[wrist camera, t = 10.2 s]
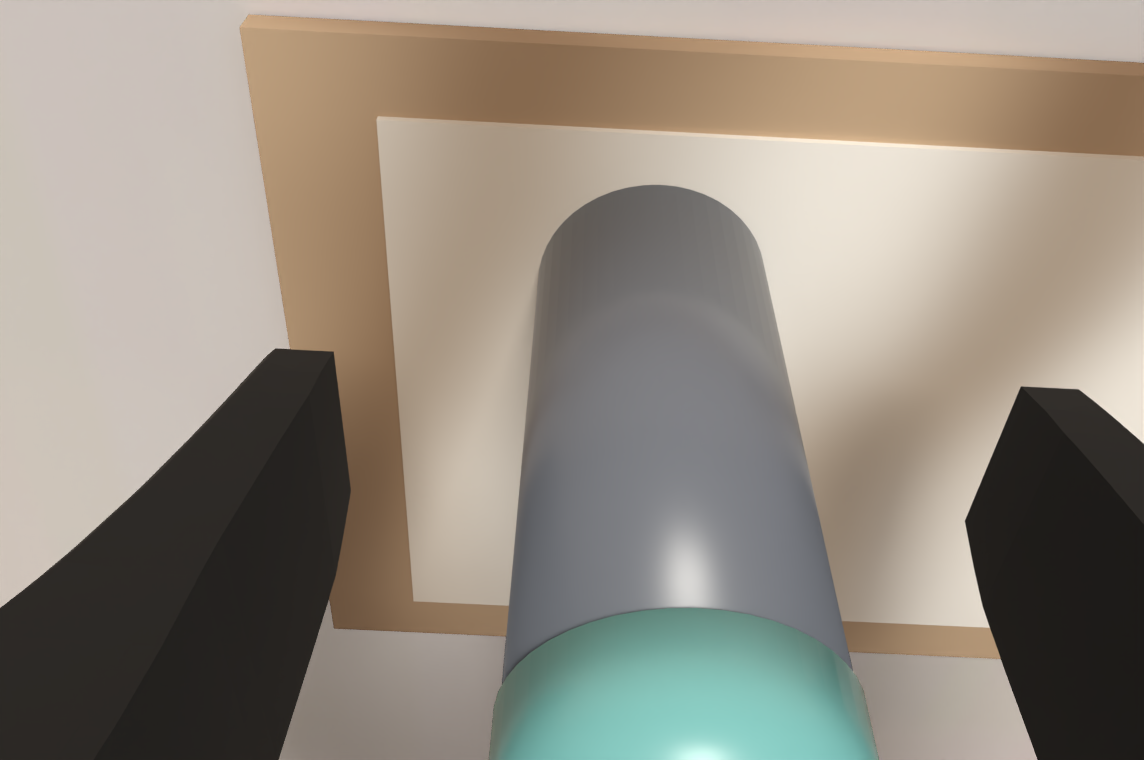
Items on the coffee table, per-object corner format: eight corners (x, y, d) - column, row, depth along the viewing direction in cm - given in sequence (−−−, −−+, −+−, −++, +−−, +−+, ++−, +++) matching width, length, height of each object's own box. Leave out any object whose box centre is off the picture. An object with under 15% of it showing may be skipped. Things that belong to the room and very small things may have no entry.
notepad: (1762, 95, 12) (1800, 114, 12) (1306, 654, 19) (1321, 678, 19) (249, 14, 12) (236, 30, 12) (338, 610, 19) (333, 632, 19)
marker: (784, 185, 13) (954, 792, 7) (751, 380, 15) (857, 989, 9) (534, 177, 13) (468, 774, 7) (534, 372, 15) (483, 975, 9)
